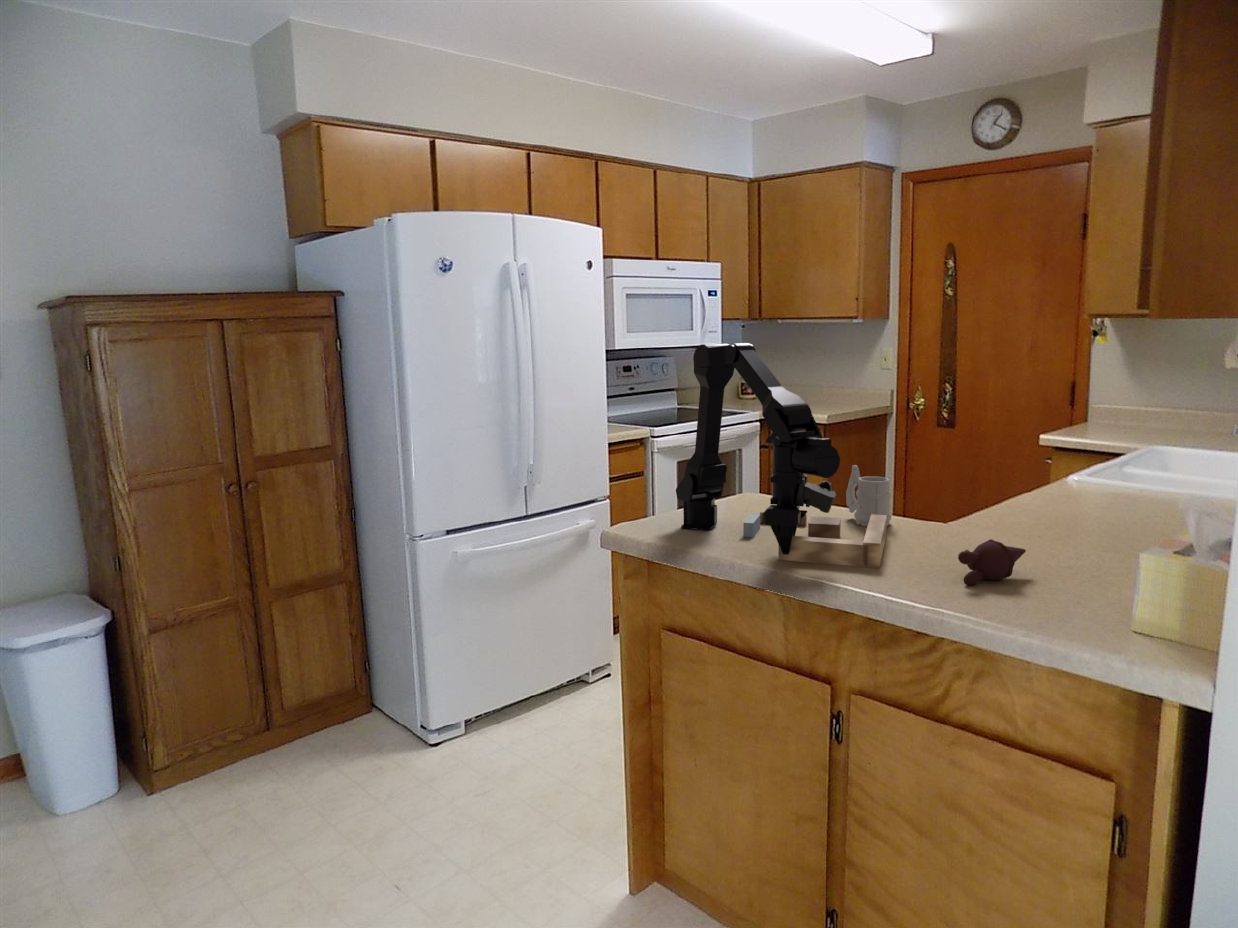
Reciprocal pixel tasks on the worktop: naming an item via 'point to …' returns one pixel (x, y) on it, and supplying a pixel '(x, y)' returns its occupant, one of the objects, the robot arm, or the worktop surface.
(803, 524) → the dowel
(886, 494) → the mug
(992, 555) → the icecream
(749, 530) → the stop batten
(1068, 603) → the worktop surface
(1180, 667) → the worktop surface
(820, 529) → the block
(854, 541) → the wooden l-shaped bracket
